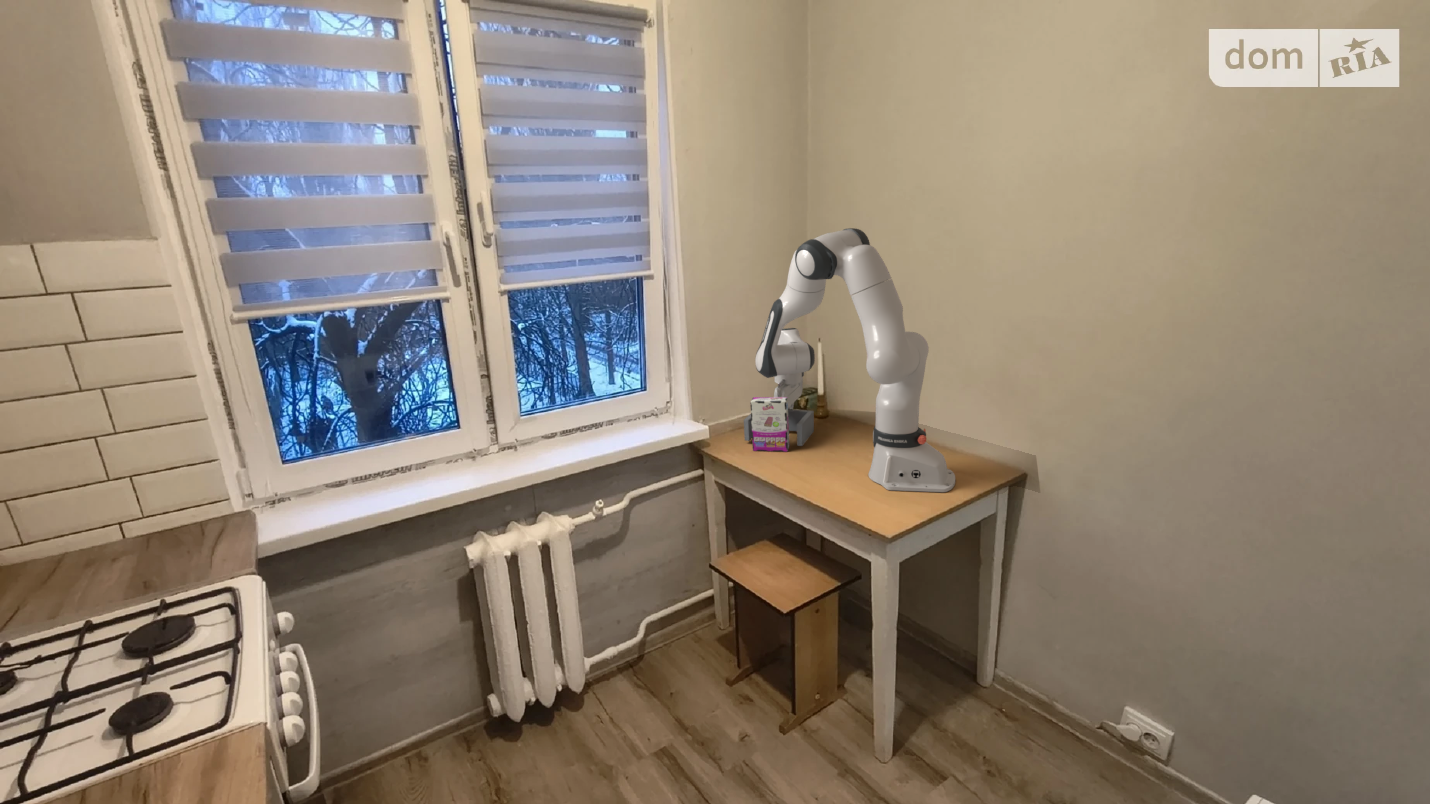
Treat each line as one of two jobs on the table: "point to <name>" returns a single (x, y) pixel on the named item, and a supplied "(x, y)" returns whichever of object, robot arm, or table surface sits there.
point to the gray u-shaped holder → (790, 425)
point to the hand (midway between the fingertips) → (788, 416)
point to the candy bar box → (770, 424)
